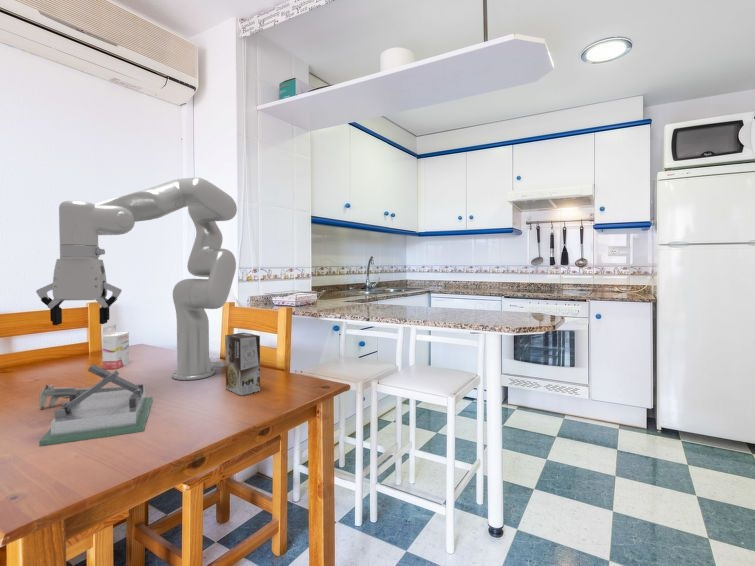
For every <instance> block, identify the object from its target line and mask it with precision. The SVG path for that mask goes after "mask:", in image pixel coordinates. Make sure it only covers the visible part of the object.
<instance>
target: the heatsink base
mask: <svg viewBox="0 0 755 566" xmlns="http://www.w3.org/2000/svg"><path fill="white" fill-rule="evenodd" d="M136 385H137V386H139V387H142V390H141V389H139V390H133V392H131V391H129V390H120V391H110V392H101V393H93V394H92V395H90V396H89V397H87V398H86V399H84V400H83V401H81V402H80V403H79V404H77V405H76V406H74V407H73V408H71V409H70V410H68V411H67V412H66V409H61V408H62V407H63V406H64V405H66V404H68V403H69V402H71V401H72V400H74V399H75V398H77V397H78V396H79V395H80V390H75V391H73V392H72V393H71V394H70V398H69V401H66V402H62V403H61V408H60V409H59V408H58V409H56V410H55V411H54V418H53V419H52V420H51V421H50V428H49V430H48V431H47V432H46V433H45V434H44V435H43V437H41V439H40V440H39V441H38V442H39V447H42V446H49V445H51V446H52V445H58V444H63V443H70V442H79V441H84V440H91V439H92V440H93V439H97V438H105V437H112V436H113V437H114V436H119V435H125V434H133V433H139V432H140V433H141V432H144V430H145V427H146V425H147V421H148V417H149V413H150V411H151V407H152V405H153V399H154V398H153V397H154V396H147V397H146V387H144V383H139V384H136Z"/></svg>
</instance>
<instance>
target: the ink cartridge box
mask: <svg viewBox="0 0 755 566" xmlns="http://www.w3.org/2000/svg"><path fill="white" fill-rule="evenodd" d="M116 329H117V324H116V323H115V324H110V325H107V326H103V329H102V338H101V339H102V341H101V342H102V369H104V370H117V369H120V368H121V367H122V368H123V367H124V366H126V365H129V364H130V332H129V331H118V332H117V331H116Z"/></svg>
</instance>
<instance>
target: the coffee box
mask: <svg viewBox="0 0 755 566" xmlns="http://www.w3.org/2000/svg"><path fill="white" fill-rule="evenodd" d="M260 339H261V335H257V334H253V333H248V332H238V333H233V334H232V333H231V334H226V335H224V340H225V341H224V350H225V351H224V352H225V354H224V355H225V357H224V358H225V390H226V389H227V391H229V390H230V391H229V392H231V391H232V392H231V393H234V394H236V395H239V396H241V397H242V396H245V395H249V394H254V393H258V392H257V391H259V392H261V340H260ZM253 392H254V393H253Z"/></svg>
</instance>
